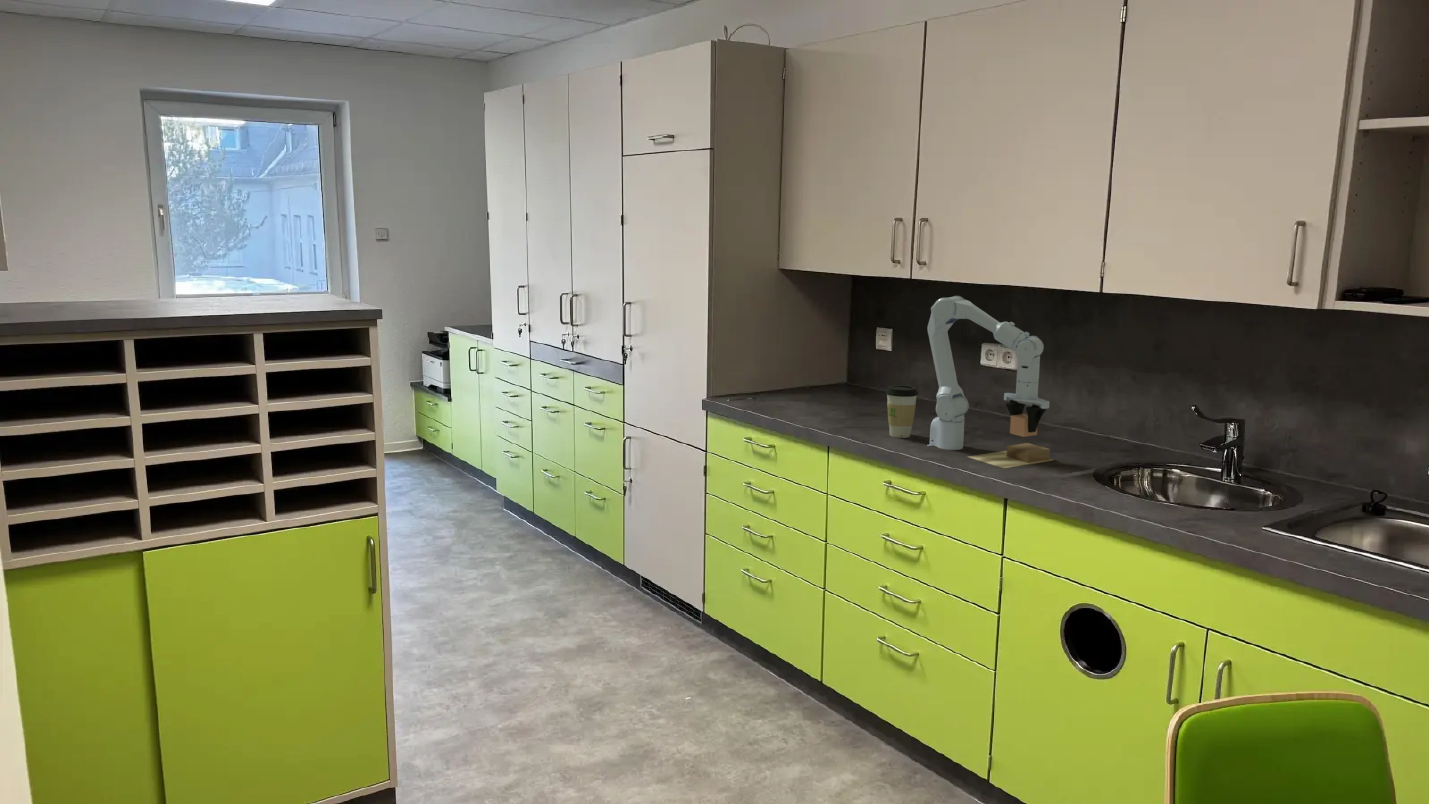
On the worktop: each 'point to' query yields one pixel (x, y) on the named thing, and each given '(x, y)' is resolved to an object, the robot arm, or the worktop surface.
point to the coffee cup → (901, 409)
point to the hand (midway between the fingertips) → (1024, 430)
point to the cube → (1020, 425)
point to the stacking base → (1001, 460)
